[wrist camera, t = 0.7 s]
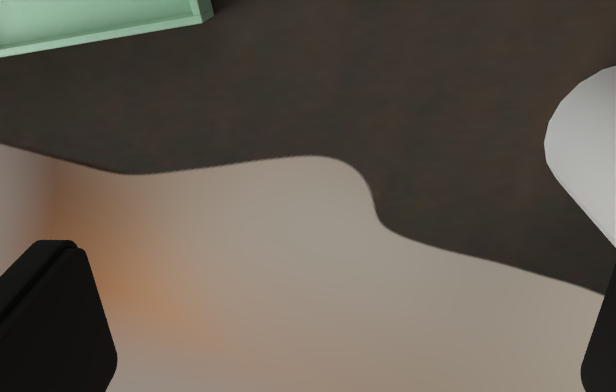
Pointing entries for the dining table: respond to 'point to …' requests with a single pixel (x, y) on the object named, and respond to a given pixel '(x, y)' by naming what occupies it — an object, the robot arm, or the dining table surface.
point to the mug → (587, 148)
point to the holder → (89, 21)
